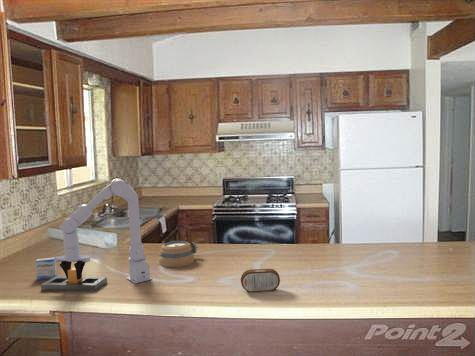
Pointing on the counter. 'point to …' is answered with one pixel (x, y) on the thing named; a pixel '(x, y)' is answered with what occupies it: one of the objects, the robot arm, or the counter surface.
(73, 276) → the square block
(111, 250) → the counter surface
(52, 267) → the medicine box
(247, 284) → the brown portable speaker
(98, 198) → the robot arm
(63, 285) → the gray board with holes
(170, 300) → the counter surface
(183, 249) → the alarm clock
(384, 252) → the counter surface
